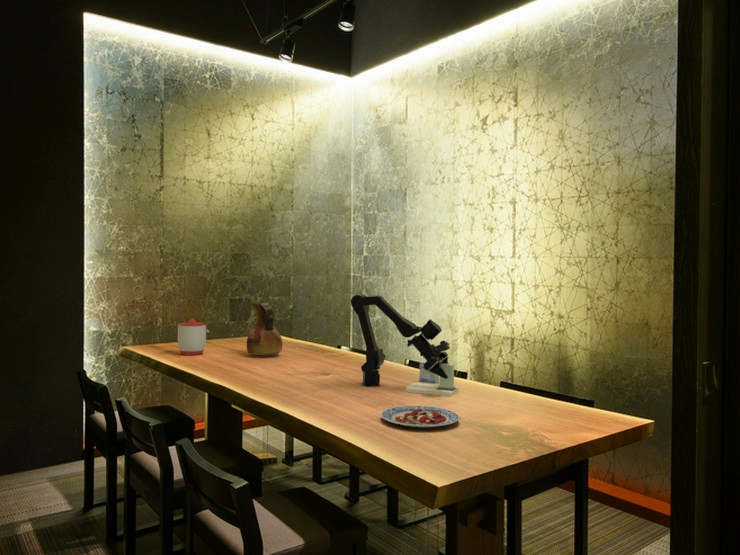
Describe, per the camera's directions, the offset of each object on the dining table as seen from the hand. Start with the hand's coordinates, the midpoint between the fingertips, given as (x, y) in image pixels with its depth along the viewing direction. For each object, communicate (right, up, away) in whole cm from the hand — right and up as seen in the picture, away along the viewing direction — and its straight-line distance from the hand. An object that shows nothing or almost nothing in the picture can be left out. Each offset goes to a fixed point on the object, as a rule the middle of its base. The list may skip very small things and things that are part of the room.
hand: (450, 376), depth 235 cm
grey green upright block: (-1, -5, +1) cm, 5 cm away
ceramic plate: (-16, -8, -44) cm, 47 cm away
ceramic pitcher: (-91, -4, +87) cm, 126 cm away
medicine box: (-6, -7, +23) cm, 25 cm away
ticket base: (-7, -7, +3) cm, 10 cm away
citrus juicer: (-132, -3, +88) cm, 159 cm away
